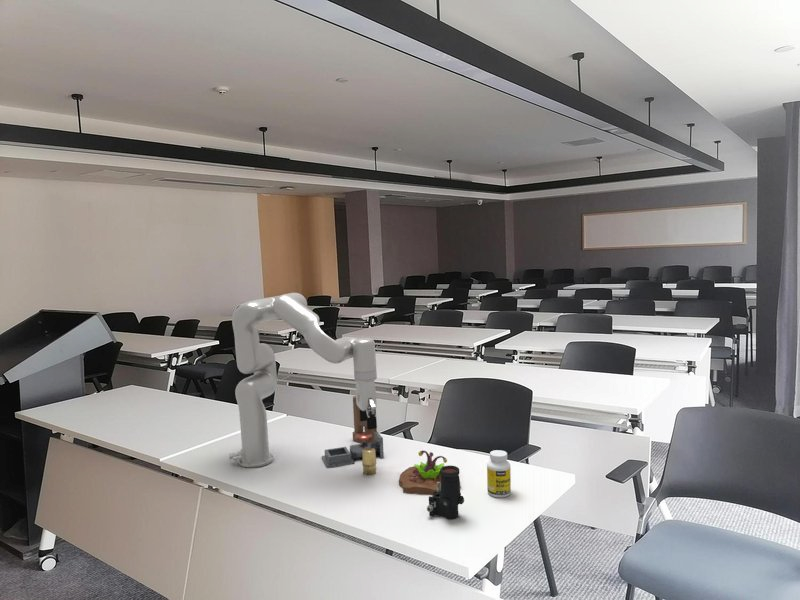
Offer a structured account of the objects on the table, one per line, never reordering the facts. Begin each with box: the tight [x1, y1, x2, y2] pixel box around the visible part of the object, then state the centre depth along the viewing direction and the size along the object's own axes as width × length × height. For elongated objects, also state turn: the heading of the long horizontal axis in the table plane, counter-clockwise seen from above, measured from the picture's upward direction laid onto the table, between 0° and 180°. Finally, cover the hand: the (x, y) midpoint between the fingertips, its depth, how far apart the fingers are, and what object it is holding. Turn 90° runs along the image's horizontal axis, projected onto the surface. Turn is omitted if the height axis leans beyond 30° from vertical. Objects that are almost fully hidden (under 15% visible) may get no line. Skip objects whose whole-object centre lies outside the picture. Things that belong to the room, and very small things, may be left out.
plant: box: [398, 450, 448, 496], centre depth 187 cm, size 20×20×11 cm
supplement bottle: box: [486, 449, 512, 498], centre depth 176 cm, size 7×7×13 cm
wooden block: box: [352, 395, 378, 444], centre depth 226 cm, size 4×11×18 cm, turn 46°
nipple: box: [361, 448, 378, 477], centre depth 196 cm, size 5×5×8 cm
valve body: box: [321, 431, 385, 469], centre depth 210 cm, size 21×10×8 cm, turn 108°
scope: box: [426, 465, 465, 520], centre depth 164 cm, size 8×14×10 cm
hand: (368, 424), depth 195 cm, fingers open, 9 cm apart
